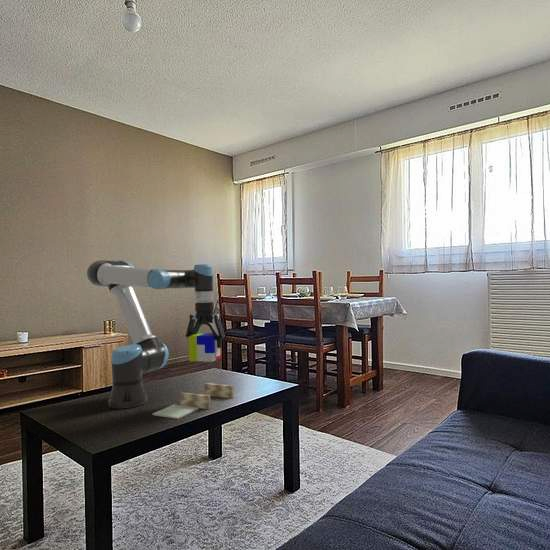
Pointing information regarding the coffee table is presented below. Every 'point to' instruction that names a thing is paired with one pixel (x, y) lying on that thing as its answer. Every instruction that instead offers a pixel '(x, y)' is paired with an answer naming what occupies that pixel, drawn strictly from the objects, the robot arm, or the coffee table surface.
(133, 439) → the coffee table surface
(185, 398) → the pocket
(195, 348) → the puzzle toy
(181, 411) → the pad
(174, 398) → the coffee table surface
